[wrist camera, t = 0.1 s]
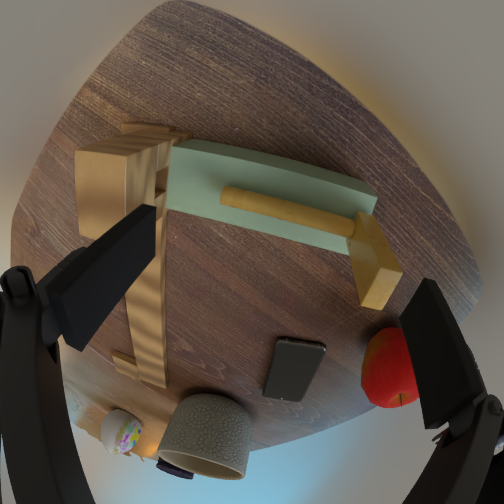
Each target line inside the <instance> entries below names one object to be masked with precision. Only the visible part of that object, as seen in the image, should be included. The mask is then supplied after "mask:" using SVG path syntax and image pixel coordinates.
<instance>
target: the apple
mask: <svg viewBox="0 0 504 504" xmlns="http://www.w3.org/2000/svg"><path fill="white" fill-rule="evenodd" d="M361 387H362V388H363V390H364V392H365V394H366V395H367V397H368V399H369V400H370V402H371V403H373V404H375V405H377V406H380V407H383V408H395V407H400V406H403V405H406V404H409V403H411V402H413V401H415V400H416V399H417V398H419V393H418V388H417V384H416V379H415V375H414V371H413V367H412V363H411V359H410V355H409V351H408V348H407V344H406V340H405V337H404V333H403V330H402V329H401V328H395V327H388V328H384V329H382V330H381V331H379V332H378V333H377V334H376V335H375V336H374V337H372V339H371V340H370V341H369V343H368V344H367V349H366V353H365V357H364V361H363V365H362V374H361Z"/></svg>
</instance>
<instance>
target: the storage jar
mask: <svg viewBox="0 0 504 504" xmlns="http://www.w3.org/2000/svg"><path fill="white" fill-rule="evenodd" d="M156 467H157V468H159V469H160V470H162V471H165V472H167V473H169V474H172V475H175V476H177V477H181V478H185V479H193V475H194V473H192V472H189V471H187V470H184V469H181V468H179V467H177V466H175V465H173V464H171V463H169V462H167V461H165V460H164V459H162V458H161V457H160V456H159V460H158V463H157V465H156Z"/></svg>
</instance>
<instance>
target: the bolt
mask: <svg viewBox="0 0 504 504" xmlns="http://www.w3.org/2000/svg"><path fill="white" fill-rule="evenodd" d="M220 204H221V205H225V206H230V207H234V208H238V209H242V210H246V211H250V212H254V213H258V214H262V215H265V216H269V217H273V218H277V219H281V220H285V221H288V222H292V223H296V224H299V225H303V226H307V227H310V228H314V229H318V230H321V231H325V232H328V233H332V234H335V235H339V236H342V237H346V238H347V239H346V244H347V248H348V252H349V256H350V260H351V264H352V269H353V273H354V277H355V282H356V286H357V291H358V296H359V301H360V305H361V306H364V307H368V308H373V309H377V310H382V309H383V307H384V306H385V304H386V302H387V301H388V299H389V297H390V296H391V294H392V292H393V290H394V289H395V287H396V285H397V283H398V281H399V280H400V278H401V276H402V274H403V272H402V270H401V268H400V266H399V264H398V262H397V259H396V257H395V255H394V253H393V251H392V249H391V247H390V245H389V243H388V241H387V240H386V238H385V236H384V234H383V232H382V230H381V228H380V226H379V225H378V223H377V221H376V219H375V217H374V216H373V215H370V214H367V213H364V212H360V211H357V213H356V215H355V218H354V220H353V219H350V218H346V217H343V216H340V215H336V214H333V213H330V212H326V211H323V210H319V209H316V208H312V207H309V206H305V205H301V204H298V203H294V202H290V201H287V200H283V199H279V198H275V197H271V196H267V195H263V194H259V193H255V192H251V191H247V190H243V189H239V188H234V187H230V186H224V188H223V190H222V192H221V197H220Z"/></svg>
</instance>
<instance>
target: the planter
mask: <svg viewBox="0 0 504 504" xmlns="http://www.w3.org/2000/svg"><path fill="white" fill-rule="evenodd" d="M252 431H253V424H252V420H251V417H250V415H249V414H248V412H247V411H246V410H245V409H244V408H243V407H242V406H241V405H240V404H238V403H237V402H235V401H233V400H231V399H229V398H227V397H224V396H220V395H216V394H209V393H202V394H195V395H192V396H189V397H187V398H185V399H184V400H182V401H181V402H180V403H179V404H178V406H177V407H176V409H175V411H174V413H173V415H172V418H171V420H170V422H169V424H168V427H167V429H166V431H165V433H164V435H163V437H162V440H161V442H160V444H159V447H158V449H157V454H158V455H159V456H160V457H161V458H162V459H164V460H165V461H167V462H169V463H171V464H173V465H175V466H177V467H179V468H181V469H184V470H187V471H189V472H192V473H196V474H199V475H203V476H207V477H211V478H217V479H225V480H239V479H242V478H244V476H245V472H246V467H247V462H248V456H249V450H250V445H251V439H252Z"/></svg>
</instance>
